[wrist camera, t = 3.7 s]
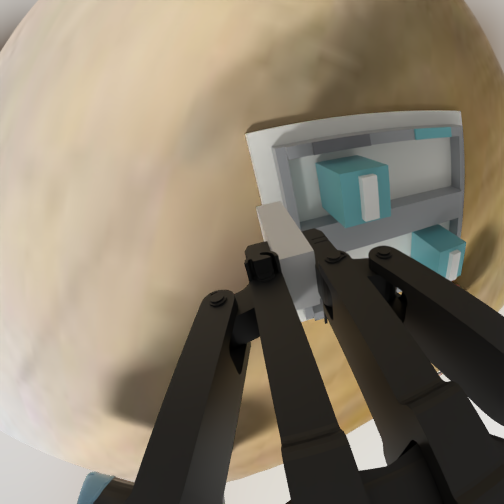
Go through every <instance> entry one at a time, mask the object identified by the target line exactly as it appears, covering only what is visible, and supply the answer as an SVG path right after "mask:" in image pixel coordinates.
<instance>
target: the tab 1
mask: <svg viewBox="0 0 504 504" xmlns="http://www.w3.org/2000/svg"><path fill="white" fill-rule="evenodd" d="M315 165H316V171H317V177H318V183H319V189H320V196H321V203H322V207H323V208H324V209H325V210H326V211H327V212H328V213H329V214H330V215H332V216H333V217H334V218H335V219H336V220H337V221H338V222H339V223H340V224H341V225H342V226H344V227H345V228H349V227H352V226H356V225H360V224H364V223H368V222H371V221H375V220H379V219H383V218H386V217H390V216H391V200H390V182H389V169H388V165H386V164H383V163H381V162H378V161H375V160H371V159H368V158H365V157H362V156H359V155H354V156H348V157H343V158H337V159H332V160H327V161H321V162H316V163H315Z"/></svg>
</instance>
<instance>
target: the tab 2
mask: <svg viewBox="0 0 504 504" xmlns="http://www.w3.org/2000/svg"><path fill="white" fill-rule="evenodd" d="M465 247H466V242H465V241H464V240H462V239H461V238H459V237H458V236H456V235H455V234H453V233H452V232H450V231H448V230H447V229H445V228H444V227H442V226H441V225H439V224H437V225H433V226H430V227H427V228H424V229H421V230H417V231H414V232H412V240H411V258H413V259H415V260H416V261H418V262H420V263H421V264H423V265H425V266H427V267H428V268H430V269H432V270H433V271H435V272H437V273H438V274H440V275H441V276H443V277H445V278H446V279H448V280H450V281H453V280H455V279H456V277H458V276H460V275H461V270H462V265H463V260H464V254H465Z"/></svg>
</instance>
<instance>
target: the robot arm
mask: <svg viewBox="0 0 504 504" xmlns="http://www.w3.org/2000/svg"><path fill="white" fill-rule="evenodd" d="M256 210H257V215H258V219H259V223H260V227H261V231H262V235H263V240H264V242H261V243H258V244H254V245H250V246H248V247H247V249H246V251H245V255H246V260H245V263H244V264H245V268H246V271H247V275H248V278H249V284H248V285H247V287H246V288H244V289H243V290H242V291H240V292H238V293H236V294H233V293H232V292H231V291H229V290H218V291H214V292H212V293H210V294H208V295H207V296H206V297H205V298H204V299H203V301H202V303H201V305H200V307H199V310H198V312H197V315H196V317H195V320H194V322H193V325H192V327H191V330H190V333H189V335H188V338H187V340H186V343H185V345H184V348H183V350H182V353H181V356H180V358H179V361H178V363H177V366H176V369H175V371H174V374H173V377H172V379H171V382H170V385H169V387H168V390H167V393H166V395H165V398H164V401H163V403H162V406H161V409H160V412H159V414H158V417H157V420H156V423H155V425H154V428H153V431H152V434H151V437H150V439H149V442H148V445H147V448H146V451H145V454H144V457H143V460H142V463H141V465H140V468H139V471H138V474H137V477H136V480H135V482H131V481H127V480H124V479H120V478H117V477H115V476H110V475H106V474H102V473H99V472H91V473H89V474H88V475H87V476H86V479H85V481H84V483H83V486H82V489H81V492H80V495H79V498H78V502H77V504H225V500H224V490H225V485H226V480H227V475H228V469H229V464H230V459H231V454H232V448H233V443H234V437H235V432H236V427H237V421H238V416H239V410H240V404H241V399H242V393H243V388H244V382H245V376H246V370H247V365H248V359H249V353H250V347H251V342H250V341H252V340H254V339H256V338H258V337H260V338H261V344H262V349H263V354H264V359H265V364H266V369H267V374H268V379H269V384H270V389H271V394H272V399H273V404H274V409H275V414H276V419H277V423H278V428H279V433H280V438H281V444H282V446H281V451H282V458H283V463H284V468H285V473H286V478H287V483H288V488H289V492H290V497H291V500H290V501H289V502H287V503H286V504H504V439H503V438H500V437H497V436H494V435H491V434H489V432H488V430H487V429H486V427H485V425H484V423H483V422H482V420H481V418H480V417H479V415H478V413H477V411H476V410H475V408H474V407H473V405H472V403H471V402H470V400H469V398H470V399H471V400H472V401H473V402H474V403H475V404H476V405H477V406H478V407H479V408H480V409H481V410H482V411H483V412H484V413H486V414H487V415H488V416H489V417H490V418H492V419H493V420H494V421H496V422H497V423H499V424H501V425H503V426H504V317H503V316H502V315H501V314H499V313H498V312H496V311H495V310H494V309H492V308H491V307H489V306H488V305H486V304H485V303H483V302H482V301H480V300H479V299H477V298H476V297H474V296H473V295H471V294H470V293H468V292H467V291H465V290H464V289H462V288H461V287H459V286H457V285H456V284H454V283H453V282H451V281H450V280H448V279H446V278H445V277H443V276H441V275H440V274H438V273H437V272H435V271H433V270H432V269H430V268H428V267H427V266H425V265H423V264H421V263H420V262H418V261H416V260H415V259H413V258H411V257H409V256H408V255H406V254H404V253H402V252H401V251H399V250H397V249H395V248H393V247H390V246H377V247H374V248H373V249H371V250H370V251H369V253H368V258H362V259H352V258H351V257H350V255H349V254H348V253H346V252H344V251H341V250H337V249H336V248H335V247H334V246H333V244H332V243H331V242H330V241H329V240H328V238H327V237H326V236H325V235H324V233H323V232H322V231H320V230H318V229H316V228H313V229H309V230H305V231H301V230H300V229H299V228H298V226H297V225H296V223H295V222H294V220H293V219H292V217H291V216H290V214H289V213H288V212H287V210H286V209H285V207H284V206H283V204H282V203H281V201H277V202H273V203H269V204H265V205H261V206H257V207H256ZM397 288H398V289H400V290H401V291H402V295H400V294H399V293H397ZM319 295H320V296H319ZM320 297H321V299H322V301H323V310H324V320H325V324H326V323H327V319H328V321H329V323H330V325H331V327H332V329H333V331H334V333H335V335H336V337H337V339H338V341H339V344H340V346H341V348H342V350H343V352H344V354H345V356H346V359H347V361H348V363H349V365H350V367H351V369H352V372H353V374H354V376H355V378H356V380H357V383H358V385H359V387H360V389H361V392H362V394H363V396H364V398H365V401H366V403H367V405H368V408H369V410H370V412H371V414H372V417H373V419H374V421H375V424H376V426H377V429H378V431H379V433H380V436H381V438H382V442H383V451H384V456H385V459H386V463H387V465H388V466H386V467H381V468H375V469H369V470H362V471H358V468H357V465H356V462H355V459H354V456H353V453H352V451H351V448H350V445H349V442H348V440H347V437H346V435H345V433H344V431H342V430H341V429H340V427H339V425H338V422H337V419H336V417H335V414H334V411H333V408H332V405H331V403H330V400H329V397H328V394H327V391H326V389H325V386H324V383H323V380H322V378H321V375H320V372H319V369H318V367H317V364H316V361H315V358H314V356H313V353H312V350H311V348H310V345H309V342H308V340H307V337H306V334H305V332H304V329H303V326H302V324H301V321H300V318H299V316H298V313H297V310H301V309H305V308H308V307H312V306H315V305H318V304H320ZM430 362H431V363H432V364H433V365H434V366H435V367H436V368H438V369H439V370H440V371H441V372H442V373H443V374H444V375H445V376H446V377H447V378H449V379H450V380H451V381H449V382H445V381H443V380H442V379H441V378H440V376H439V375H438V373H437V372H436V370H435V369H434V367H433V366H432V364H431V363H430ZM467 396H468V397H469V398H468V397H467Z"/></svg>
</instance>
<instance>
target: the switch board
mask: <svg viewBox="0 0 504 504" xmlns="http://www.w3.org/2000/svg"><path fill="white" fill-rule="evenodd" d="M245 137H246V141H247V145H248V149H249V153H250V157H251V161H252V165H253V169H254V173H255V178H256V182H257V186H258V190H259V194H260V199H261V203H262V205H265V204H269V203H273V202H277V201H281V203H282V204H283V206H284V207H285V209H286V210H287V212H288V213H289V214H290V216H291V217H292V219H293V220H294V222H295V223H296V225H297V226H298V228H299V229H300V230H301V231H305V230H309V229H313V228H316V229H318V230H320V231H322V232H323V233H324V235H325V236H326V237H327V238H328V240H329V241H330V242H331V243H332V244H333V246H334V247H335V248H336V249H337V250H341V251H344V252H346V253H348V254H349V255H350V257H351V258H352V259H362V258H368V253H369V251H370V250H371V249H373V248H374V247H377V246H390V247H393V248H395V249H397V250H399V251H401V252H402V253H404V254H406V255H408V256H409V257H411V240H412V232H414V231H417V230H421V229H424V228H427V227H430V226H433V225H437V224H439V225H441V226H442V227H444V228H445V229H447V230H448V231H450V232H452V233H453V234H455V235H456V236H458V237H459V238H460V237H461V228H462V218H463V204H464V174H465V168H464V139H463V126H462V118H461V111H455V110H415V111H392V112H378V113H366V114H356V115H347V116H339V117H331V118H324V119H317V120H311V121H305V122H299V123H293V124H288V125H282V126H277V127H272V128H268V129H263V130H258V131H254V132H250V133H245ZM354 155H359V156H362V157H365V158H368V159H371V160H375V161H378V162H381V163H383V164H386V165H388V169H389V182H390V200H391V216H390V217H386V218H383V219H379V220H375V221H371V222H368V223H364V224H360V225H356V226H352V227H349V228H345V227H344V226H342V225H341V224H340V223H339V222H338V221H337V220H336V219H335V218H334V217H333V216H332V215H330V214H329V213H328V212H327V211H326V210H325V209H324V208H323V207H322V203H321V196H320V189H319V183H318V177H317V171H316V165H315V163H316V162H321V161H327V160H332V159H337V158H343V157H348V156H354ZM398 292H401V290H400V289H398V288H397V293H398ZM319 296H320V295H319ZM297 313H298V316H299V318H300V321H301V322H303V321H306V320H309V319H313V318H314V319H315V321H316V320H320V319H323V318H324V310H323V301H322V299H321V297H320V304H318V305H315V306H312V307H308V308H305V309H301V310H297Z"/></svg>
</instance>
